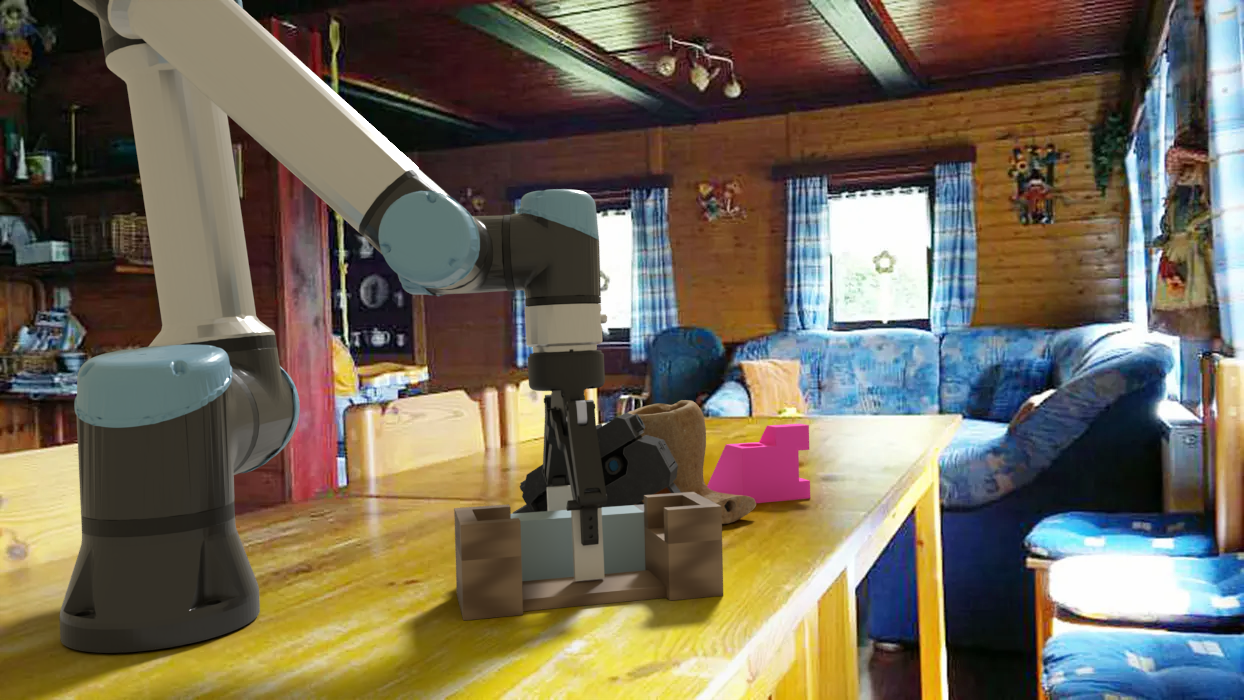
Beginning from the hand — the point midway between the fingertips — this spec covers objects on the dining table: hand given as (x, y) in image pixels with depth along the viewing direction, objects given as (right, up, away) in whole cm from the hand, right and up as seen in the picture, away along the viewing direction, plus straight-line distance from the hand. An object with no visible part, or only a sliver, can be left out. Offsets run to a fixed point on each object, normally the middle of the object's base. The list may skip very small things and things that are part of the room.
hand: (575, 563), depth 93 cm
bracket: (+24, 0, +42) cm, 48 cm away
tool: (+2, -1, +14) cm, 14 cm away
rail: (0, -1, 0) cm, 1 cm away
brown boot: (+12, 0, +25) cm, 27 cm away
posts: (+2, -1, -8) cm, 8 cm away
